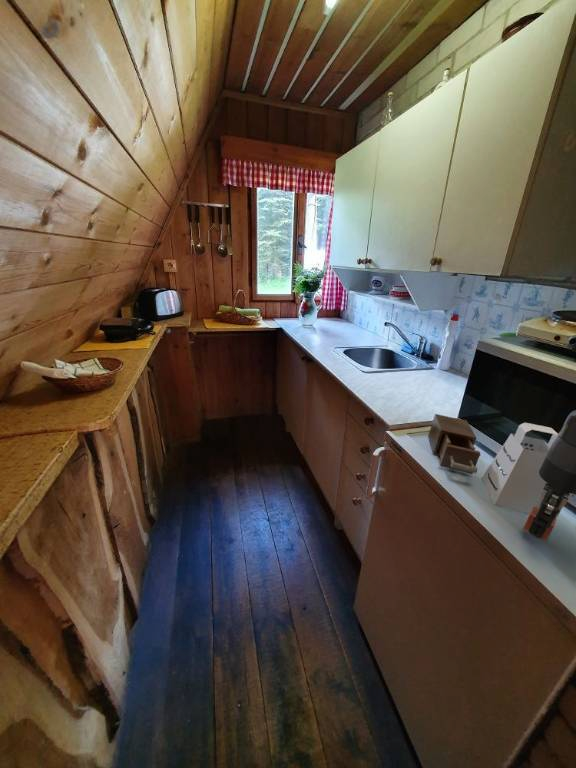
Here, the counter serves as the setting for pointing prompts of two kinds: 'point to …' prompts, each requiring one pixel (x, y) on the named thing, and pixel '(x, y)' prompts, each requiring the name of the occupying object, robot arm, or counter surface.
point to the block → (530, 521)
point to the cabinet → (448, 430)
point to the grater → (519, 470)
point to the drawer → (458, 453)
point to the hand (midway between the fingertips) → (536, 529)
